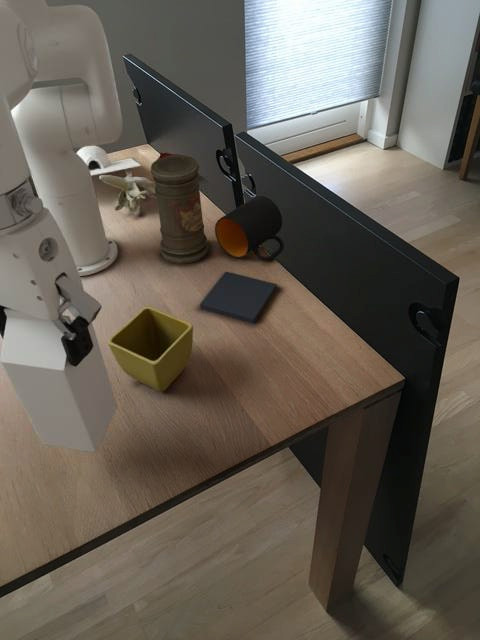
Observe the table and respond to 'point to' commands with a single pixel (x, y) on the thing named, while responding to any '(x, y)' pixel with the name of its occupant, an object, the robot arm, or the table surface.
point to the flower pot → (153, 347)
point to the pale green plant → (130, 190)
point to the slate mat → (239, 297)
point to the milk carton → (57, 383)
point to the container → (179, 209)
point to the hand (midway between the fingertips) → (48, 344)
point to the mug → (250, 228)
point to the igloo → (103, 161)
